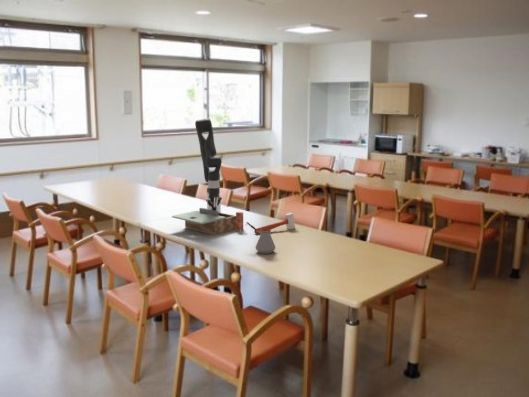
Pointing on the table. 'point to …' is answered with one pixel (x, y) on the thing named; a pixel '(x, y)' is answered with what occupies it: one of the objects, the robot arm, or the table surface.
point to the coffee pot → (264, 241)
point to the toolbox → (214, 225)
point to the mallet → (280, 223)
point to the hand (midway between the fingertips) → (214, 212)
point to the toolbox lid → (200, 216)
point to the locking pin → (239, 221)
